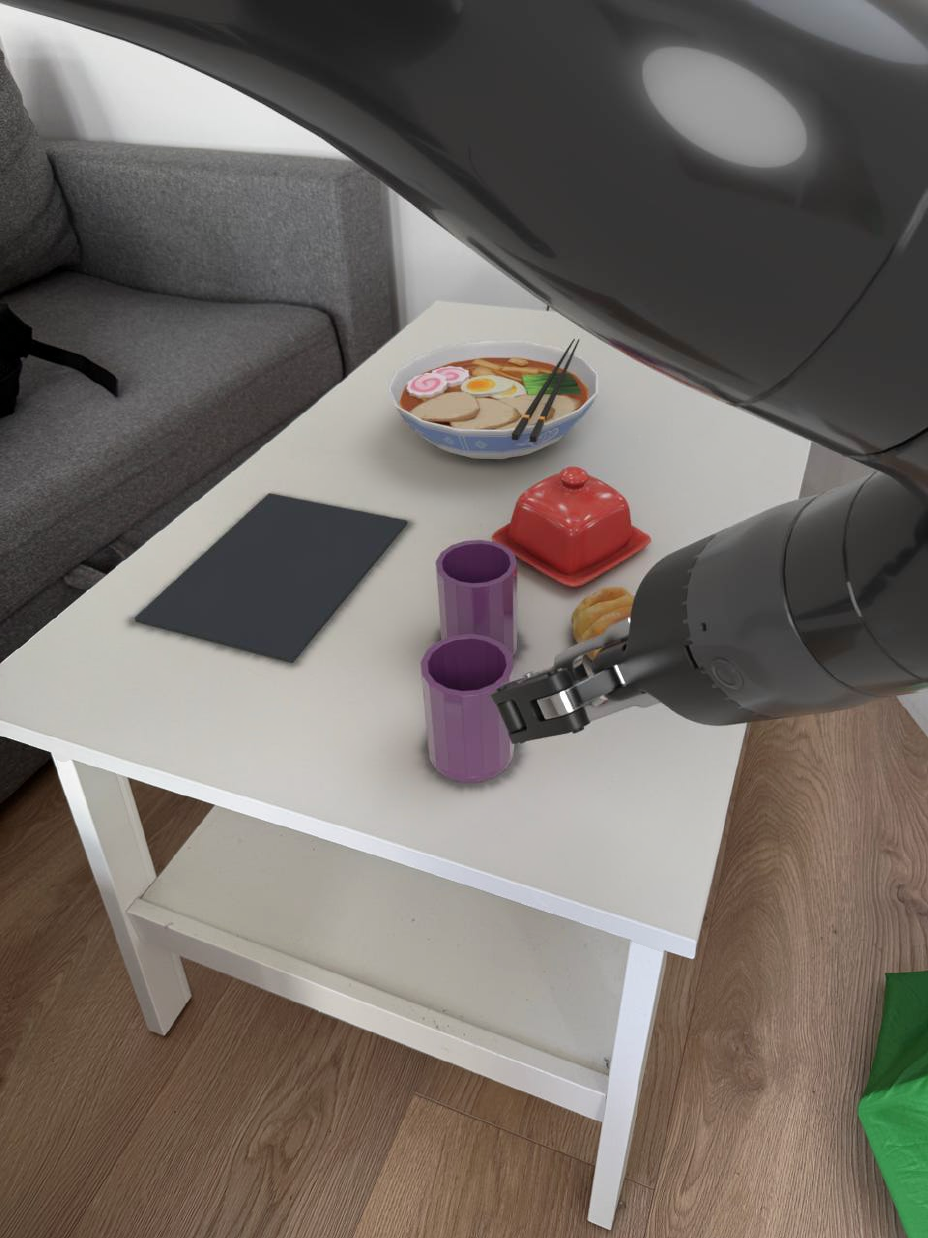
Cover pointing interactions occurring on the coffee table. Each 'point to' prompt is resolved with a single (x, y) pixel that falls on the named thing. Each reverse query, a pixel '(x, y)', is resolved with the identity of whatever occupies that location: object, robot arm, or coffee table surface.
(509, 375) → the ramen bowl
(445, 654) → the plum cup front
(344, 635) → the coffee table surface
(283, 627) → the mat
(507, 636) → the plum cup side
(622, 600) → the pastry
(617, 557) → the butter dish
